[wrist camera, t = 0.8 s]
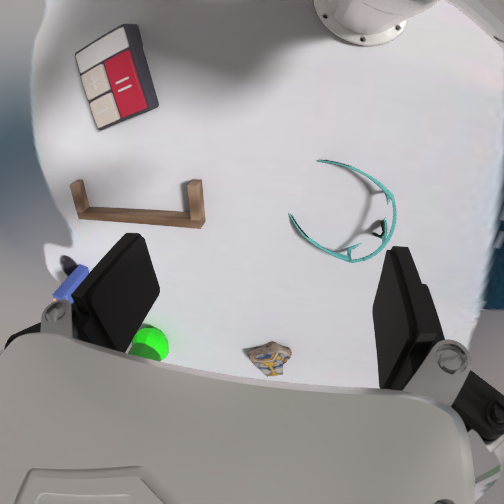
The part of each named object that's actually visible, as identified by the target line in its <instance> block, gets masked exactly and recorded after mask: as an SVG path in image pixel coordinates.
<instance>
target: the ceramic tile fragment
mask: <svg viewBox="0 0 504 504" xmlns="http://www.w3.org/2000/svg"><path fill="white" fill-rule="evenodd" d="M291 353H292V352H291V350H290V349H289V348H286V347H284V346H281V345H279V344H277V343H276V342H271V343H269V344H265V345H264V346H261V347H258V348H255V349H253V350H251V351H249V352H248V356H249V357H250V360H251V361H252V362H253V363H254V364H255V365H256V366H257V367H258V368H259V369H260V370H261V371H262V373H264V374H265V375H266V376H277V375H283V364H284V363H286V362H287V360H288V359H290V357H291V355H292V354H291Z"/></svg>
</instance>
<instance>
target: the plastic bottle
mask: <svg viewBox="0 0 504 504" xmlns="http://www.w3.org/2000/svg"><path fill="white" fill-rule="evenodd" d="M168 353H169V347H168V340H167V339H166V337H165V335H164V334H163V333H162V331H160V330H158V329H157V328H152V327H150V328H142V329H141V330H139V331H138V332H137V333H136V334H135V336H134V338H133V340H132V347H131V349H130V351H129V353H128V354H131V355H134V356H138V357H142V358H147V359H151V360H155V361H159V362H160V361H161V360H162V359H164V358H165V357H166V356H167V355H168Z"/></svg>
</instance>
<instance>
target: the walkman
mask: <svg viewBox="0 0 504 504" xmlns="http://www.w3.org/2000/svg"><path fill="white" fill-rule="evenodd" d="M88 274H89V271H88V268H87V267H85V266H83V265H79V266H78V267H77V268H76V269H75V270H74V271H73V272H72V273H71V274H70V276H69V277H68V278H67V279H66V280H65V281H64V282H63V283H62V284H61V286H60V287H59V288H58V289H57V290H56V291H55V293H54V294H53V297H54V301H56V300H60V299H66V300H69V302H70V303H71V304H72V303H73V302H74V301H73V299H72V297H71V294H72V293H73V292H74V291H75V289H76V288H77V287H78V286H79V285H80V283H81V282H82V281H83V280H84V279H85V278H86V276H87V275H88Z"/></svg>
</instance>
